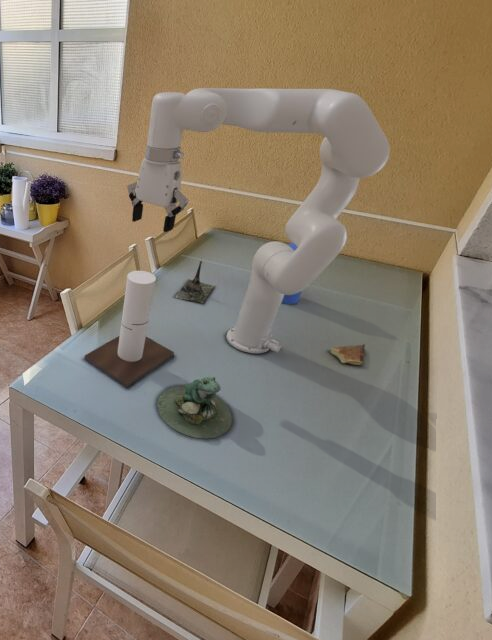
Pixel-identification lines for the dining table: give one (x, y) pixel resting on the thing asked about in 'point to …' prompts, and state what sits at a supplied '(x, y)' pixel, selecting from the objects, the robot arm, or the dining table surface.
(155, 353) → the board
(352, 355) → the shard
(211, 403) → the frog figurine
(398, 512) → the dining table surface
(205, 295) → the eiffel tower figurine
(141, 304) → the cylindrical container
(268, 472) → the dining table surface
